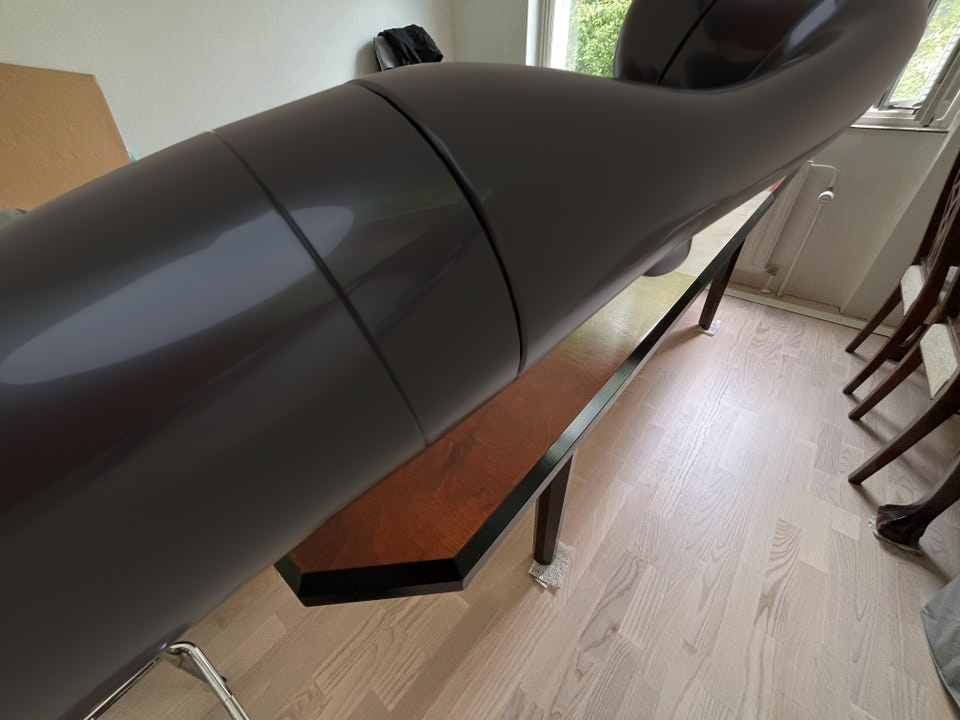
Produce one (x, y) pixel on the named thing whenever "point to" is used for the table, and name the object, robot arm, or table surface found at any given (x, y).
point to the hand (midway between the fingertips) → (387, 266)
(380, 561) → the table surface
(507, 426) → the table surface
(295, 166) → the robot arm
